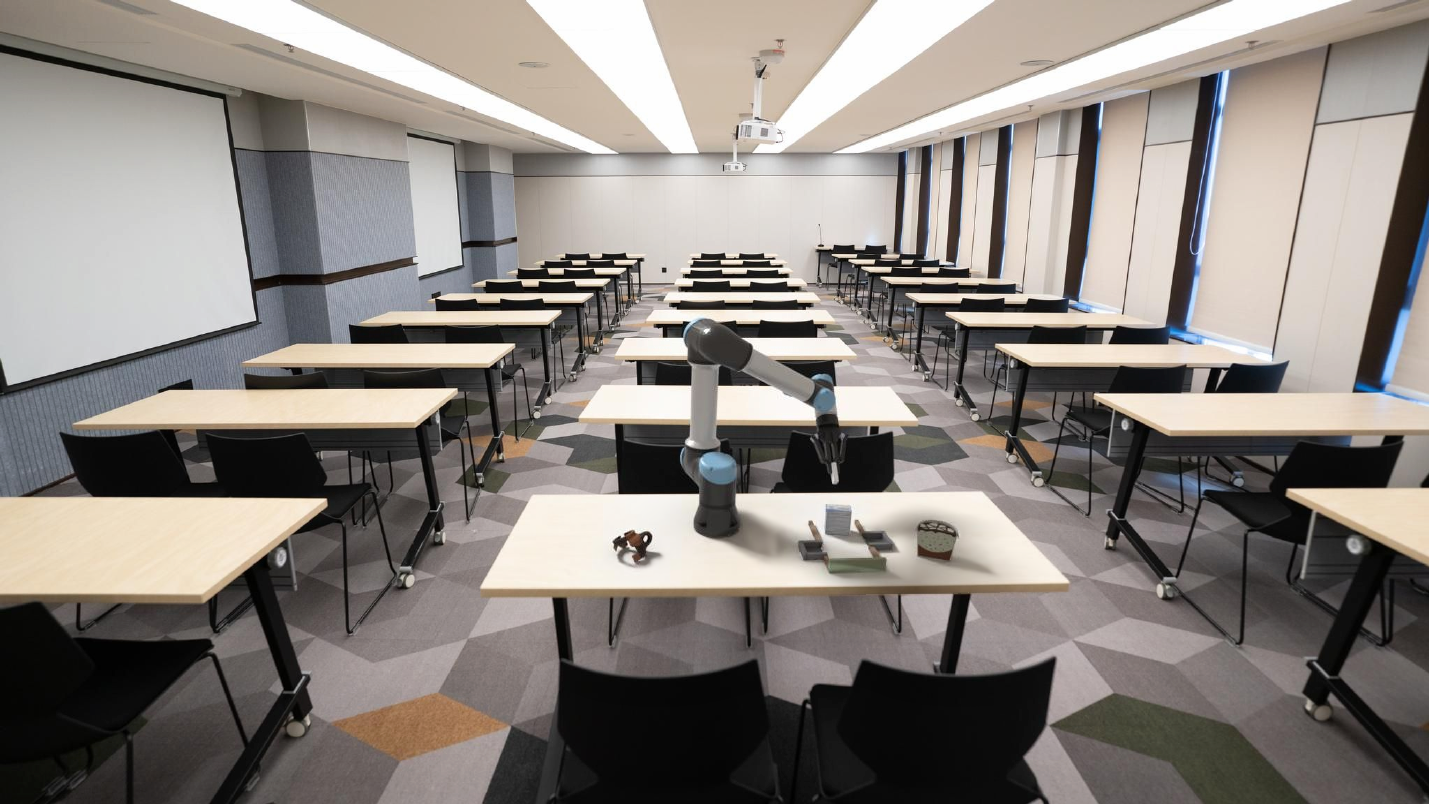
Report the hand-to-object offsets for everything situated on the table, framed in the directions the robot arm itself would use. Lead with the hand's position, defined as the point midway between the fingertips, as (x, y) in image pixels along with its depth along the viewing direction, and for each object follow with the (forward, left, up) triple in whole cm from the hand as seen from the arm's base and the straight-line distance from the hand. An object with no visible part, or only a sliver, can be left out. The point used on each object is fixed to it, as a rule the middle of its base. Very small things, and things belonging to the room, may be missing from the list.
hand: (835, 482), depth 220 cm
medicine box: (-1, -8, -14) cm, 16 cm away
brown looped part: (-65, -19, -14) cm, 69 cm away
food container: (+25, -23, -14) cm, 37 cm away
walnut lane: (-1, -17, -13) cm, 22 cm away
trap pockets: (-1, -19, -13) cm, 23 cm away
